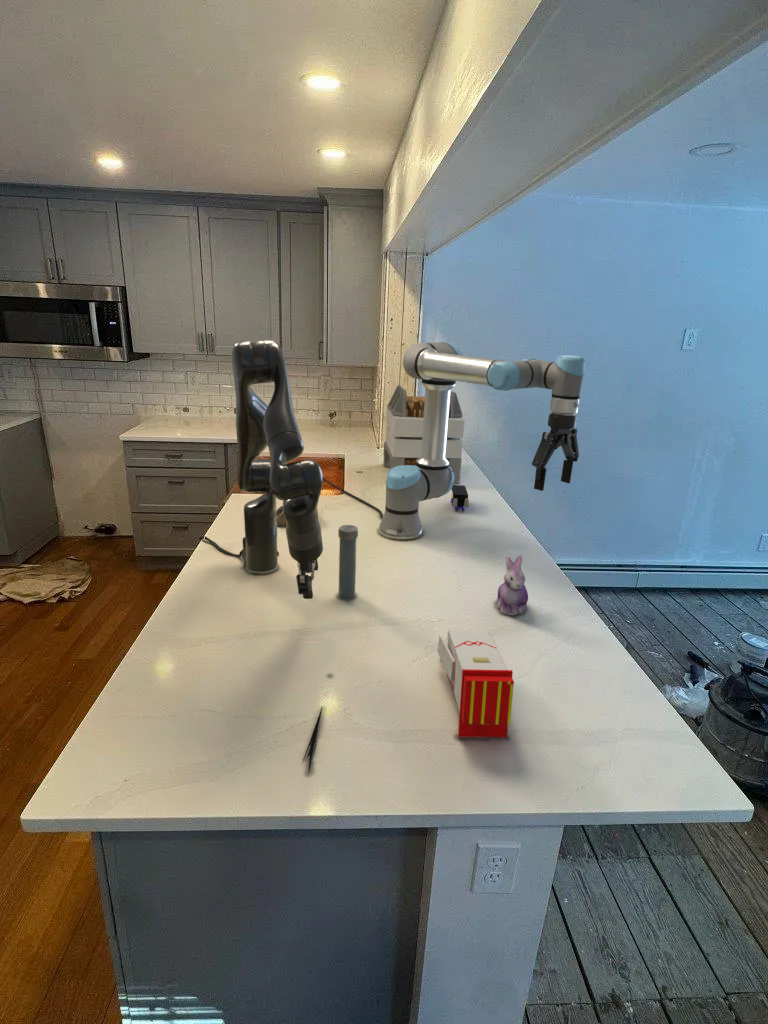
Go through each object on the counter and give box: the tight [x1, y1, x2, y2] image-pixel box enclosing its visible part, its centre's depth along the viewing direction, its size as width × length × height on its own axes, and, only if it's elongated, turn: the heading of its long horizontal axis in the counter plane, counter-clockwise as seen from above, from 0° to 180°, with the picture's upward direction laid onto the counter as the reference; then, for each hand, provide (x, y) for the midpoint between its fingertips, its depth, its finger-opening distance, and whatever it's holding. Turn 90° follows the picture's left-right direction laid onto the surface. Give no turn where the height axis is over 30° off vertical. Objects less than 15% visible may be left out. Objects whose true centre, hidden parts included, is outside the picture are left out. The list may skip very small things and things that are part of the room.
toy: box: [437, 628, 515, 738], centre depth 117 cm, size 12×13×30 cm
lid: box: [337, 524, 359, 540], centre depth 149 cm, size 5×5×2 cm
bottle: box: [338, 538, 358, 601], centre depth 152 cm, size 4×4×19 cm
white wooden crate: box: [383, 384, 465, 484], centre depth 268 cm, size 34×33×41 cm
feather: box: [301, 673, 332, 771], centre depth 108 cm, size 2×28×2 cm
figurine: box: [496, 554, 529, 616], centre depth 150 cm, size 9×10×15 cm
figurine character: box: [449, 484, 470, 512], centre depth 229 cm, size 7×8×15 cm
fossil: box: [276, 500, 286, 526], centre depth 209 cm, size 22×10×15 cm
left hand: (311, 583), depth 135 cm, fingers open, 8 cm apart
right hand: (552, 485), depth 166 cm, fingers open, 13 cm apart
